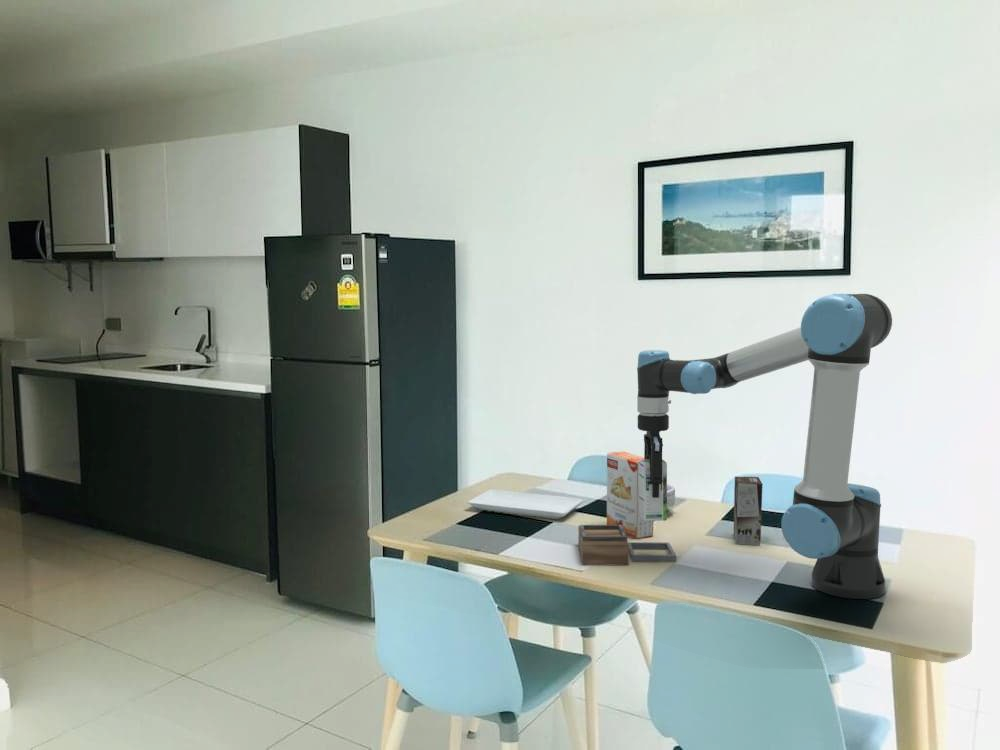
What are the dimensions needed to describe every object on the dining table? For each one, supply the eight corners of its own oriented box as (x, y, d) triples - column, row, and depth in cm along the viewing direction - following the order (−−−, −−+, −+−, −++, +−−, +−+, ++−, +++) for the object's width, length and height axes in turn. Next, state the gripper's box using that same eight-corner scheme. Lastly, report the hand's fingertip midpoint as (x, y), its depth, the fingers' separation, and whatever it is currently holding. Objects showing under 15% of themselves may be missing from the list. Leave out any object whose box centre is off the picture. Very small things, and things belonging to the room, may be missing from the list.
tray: (565, 524, 236) (565, 512, 236) (465, 512, 250) (465, 501, 249) (584, 510, 252) (584, 498, 251) (490, 499, 265) (490, 488, 264)
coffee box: (761, 545, 215) (763, 484, 214) (735, 544, 216) (736, 483, 215) (757, 535, 224) (759, 476, 222) (732, 534, 225) (734, 475, 224)
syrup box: (644, 521, 204) (644, 463, 202) (638, 515, 210) (638, 458, 208) (667, 520, 204) (667, 462, 203) (661, 514, 210) (661, 457, 209)
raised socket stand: (628, 565, 200) (628, 540, 200) (582, 564, 201) (582, 540, 200) (621, 544, 216) (621, 522, 216) (578, 544, 217) (578, 521, 216)
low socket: (676, 561, 203) (676, 555, 203) (632, 561, 203) (632, 555, 203) (668, 548, 213) (668, 542, 213) (627, 548, 214) (627, 542, 213)
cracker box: (605, 526, 233) (605, 452, 231) (623, 523, 236) (623, 450, 234) (635, 539, 221) (636, 461, 218) (653, 536, 223) (655, 459, 221)
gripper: (675, 419, 195) (674, 516, 197) (662, 408, 214) (661, 497, 216) (643, 419, 195) (642, 516, 197) (632, 408, 214) (632, 497, 216)
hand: (652, 506), depth 207 cm, fingers closed on syrup box, 6 cm apart
